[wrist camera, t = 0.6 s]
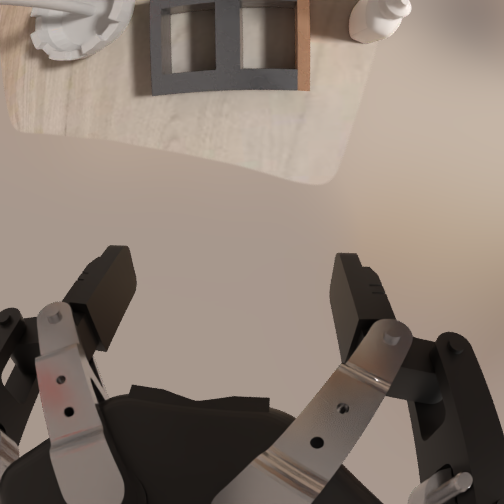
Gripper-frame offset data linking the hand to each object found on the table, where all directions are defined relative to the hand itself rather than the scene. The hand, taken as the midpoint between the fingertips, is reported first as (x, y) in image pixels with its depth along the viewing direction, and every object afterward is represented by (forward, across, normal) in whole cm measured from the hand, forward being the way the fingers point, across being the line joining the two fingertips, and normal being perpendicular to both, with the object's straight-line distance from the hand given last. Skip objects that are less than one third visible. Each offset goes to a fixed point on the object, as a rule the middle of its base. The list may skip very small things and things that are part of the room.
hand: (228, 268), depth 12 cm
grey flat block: (+26, +3, -11) cm, 29 cm away
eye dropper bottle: (+27, -12, -14) cm, 33 cm away
